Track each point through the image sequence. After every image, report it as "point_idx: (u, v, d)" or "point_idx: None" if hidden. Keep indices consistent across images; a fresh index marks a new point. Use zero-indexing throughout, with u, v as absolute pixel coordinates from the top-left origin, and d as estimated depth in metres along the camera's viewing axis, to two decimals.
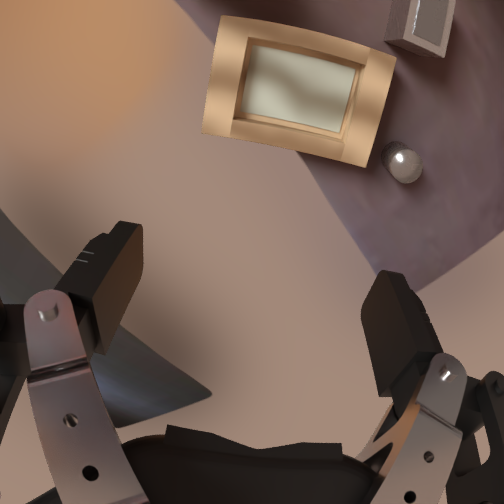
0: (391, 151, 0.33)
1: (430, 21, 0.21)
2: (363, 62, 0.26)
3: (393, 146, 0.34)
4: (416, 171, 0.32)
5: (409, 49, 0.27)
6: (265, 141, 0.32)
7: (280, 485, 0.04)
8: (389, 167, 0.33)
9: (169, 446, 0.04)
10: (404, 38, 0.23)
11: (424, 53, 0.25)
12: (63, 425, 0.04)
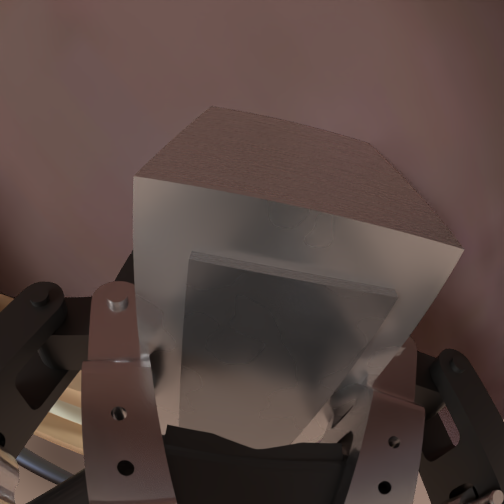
0: None
1: (246, 415, 0.07)
2: None
3: None
4: None
5: None
6: (48, 440, 0.18)
7: (280, 485, 0.04)
8: None
9: (169, 446, 0.04)
10: None
11: None
12: (110, 416, 0.04)
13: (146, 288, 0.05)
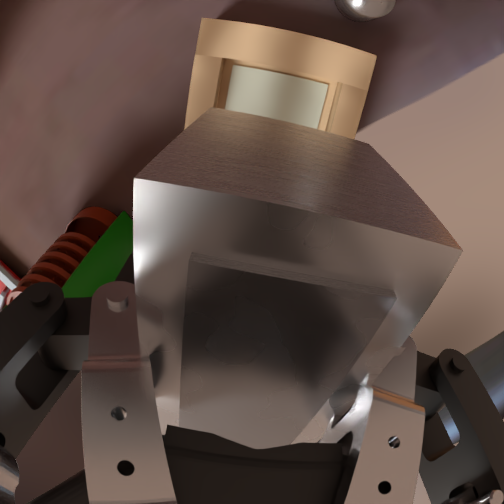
0: (349, 12, 0.18)
1: None
2: (218, 61, 0.20)
3: (342, 8, 0.19)
4: None
5: None
6: None
7: (280, 485, 0.04)
8: (374, 18, 0.18)
9: (169, 446, 0.04)
10: None
11: None
12: (110, 417, 0.04)
13: (146, 289, 0.05)
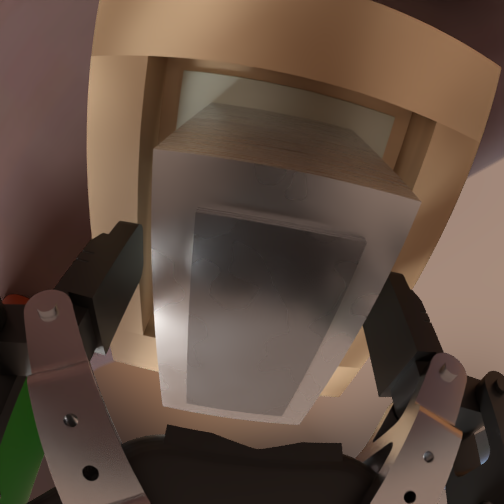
0: None
1: (247, 370, 0.09)
2: (141, 66, 0.08)
3: None
4: None
5: None
6: None
7: (280, 485, 0.04)
8: None
9: (169, 446, 0.04)
10: (167, 405, 0.10)
11: None
12: (63, 425, 0.04)
13: (160, 242, 0.06)
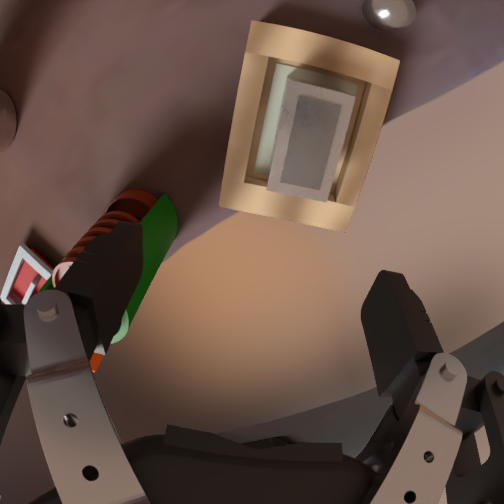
0: (376, 21, 0.21)
1: (307, 159, 0.24)
2: (265, 59, 0.23)
3: (369, 17, 0.22)
4: None
5: None
6: (364, 171, 0.28)
7: (280, 485, 0.04)
8: (397, 27, 0.21)
9: (169, 446, 0.04)
10: (268, 189, 0.25)
11: None
12: (63, 425, 0.04)
13: (286, 105, 0.21)
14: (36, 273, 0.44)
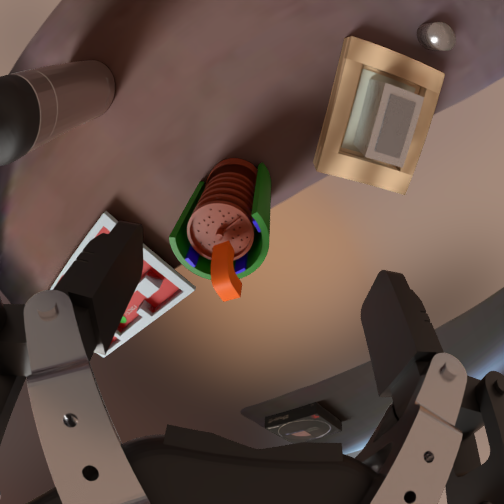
0: (429, 45, 0.29)
1: (393, 136, 0.32)
2: (360, 65, 0.31)
3: (423, 41, 0.30)
4: (445, 28, 0.26)
5: None
6: (419, 149, 0.36)
7: (280, 485, 0.04)
8: (442, 50, 0.29)
9: (169, 446, 0.04)
10: (366, 156, 0.33)
11: None
12: (63, 425, 0.04)
13: (383, 99, 0.29)
14: None
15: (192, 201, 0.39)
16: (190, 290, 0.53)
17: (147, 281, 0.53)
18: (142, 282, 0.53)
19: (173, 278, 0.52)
